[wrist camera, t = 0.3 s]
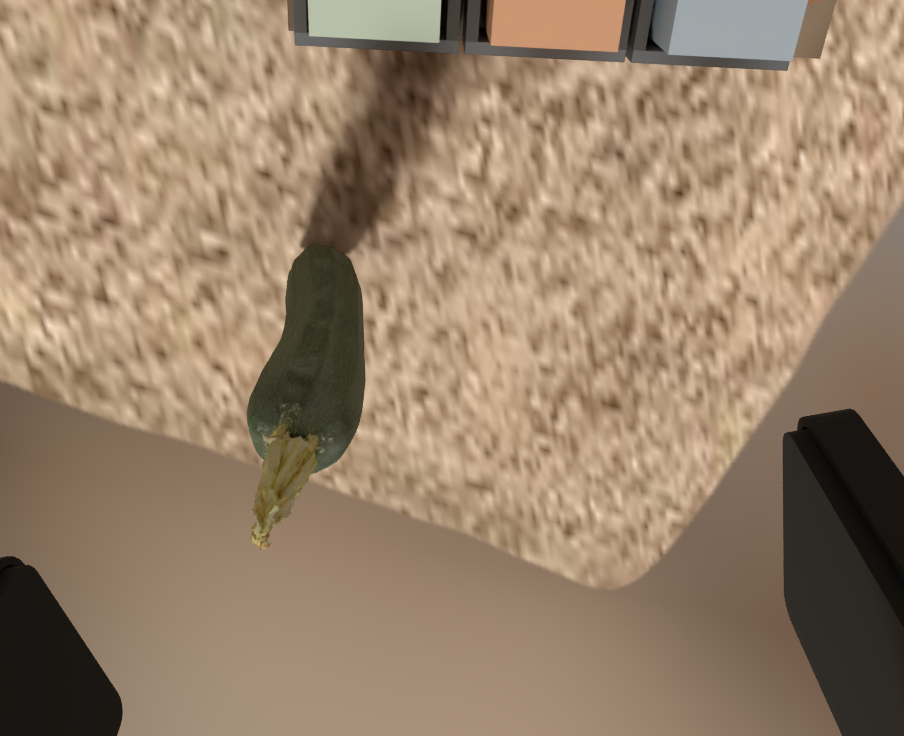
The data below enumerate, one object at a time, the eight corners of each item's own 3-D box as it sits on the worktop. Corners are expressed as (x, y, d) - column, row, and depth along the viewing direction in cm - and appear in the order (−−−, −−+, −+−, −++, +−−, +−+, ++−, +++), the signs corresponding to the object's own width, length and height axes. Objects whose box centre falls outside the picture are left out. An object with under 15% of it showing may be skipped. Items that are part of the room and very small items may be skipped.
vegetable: (343, 204, 43) (292, 452, 26) (394, 268, 45) (378, 535, 28) (276, 251, 44) (186, 515, 27) (329, 310, 46) (276, 591, 29)
